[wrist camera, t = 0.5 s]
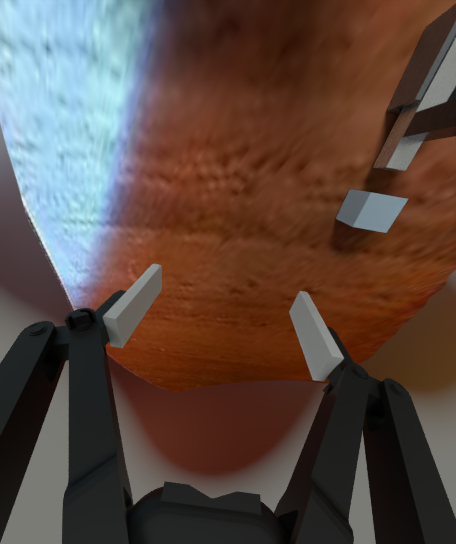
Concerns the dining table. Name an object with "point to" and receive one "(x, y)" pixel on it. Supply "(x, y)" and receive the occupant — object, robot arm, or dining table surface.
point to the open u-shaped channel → (425, 61)
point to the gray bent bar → (423, 118)
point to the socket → (370, 210)
